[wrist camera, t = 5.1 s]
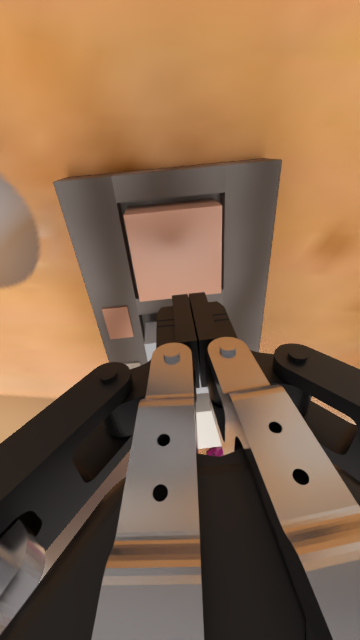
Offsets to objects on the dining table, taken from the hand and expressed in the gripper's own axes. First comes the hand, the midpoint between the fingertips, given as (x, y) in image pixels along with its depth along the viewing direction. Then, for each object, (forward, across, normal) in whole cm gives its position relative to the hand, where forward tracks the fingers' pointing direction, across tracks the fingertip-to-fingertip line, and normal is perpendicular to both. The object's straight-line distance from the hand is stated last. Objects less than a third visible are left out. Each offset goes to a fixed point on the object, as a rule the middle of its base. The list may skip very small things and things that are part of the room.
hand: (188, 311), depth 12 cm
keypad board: (+11, 0, +8) cm, 14 cm away
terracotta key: (+9, 0, 0) cm, 9 cm away
